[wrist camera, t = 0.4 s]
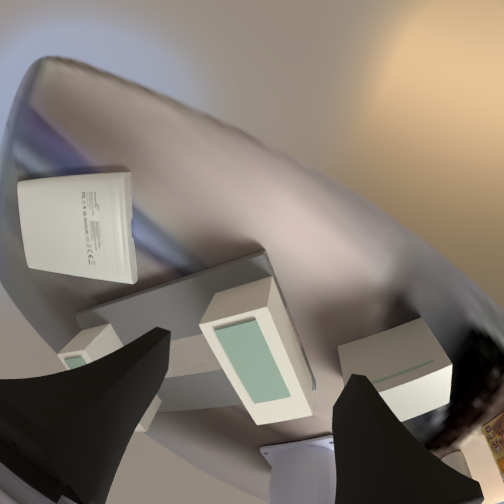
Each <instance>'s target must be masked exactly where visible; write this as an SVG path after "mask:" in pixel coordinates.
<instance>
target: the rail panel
mask: <svg viewBox="0 0 504 504" xmlns="http://www.w3.org/2000/svg"><path fill="white" fill-rule="evenodd" d="M74 318H75V320H76V322H77V323H78V325H79V327H80V328H81V330H82V331H81V332H79V333H78V334H77V335H76V336H75V337H74V338H73V339H72V340H71V341H70V342H69V343H68V344H67V345H66V346H65V347H64V348H63V349H62V350H61V351H60V352H59V353H58V354H57V355H58V357H59V358H60V360H61V361H62V363H63V364H64V366H65V367H66V369H67V370H71V369H74V368H77V367H80V366H83V365H85V364H88V363H91V362H93V361H95V360H98V359H100V358H102V357H104V356H106V355H108V354H110V353H112V352H114V351H116V350H118V349H119V348H121V347H123V346H125V345H127V344H128V343H130V342H132V341H133V340H135V339H137V338H138V337H140V336H142V335H143V334H145V333H147V332H148V331H150V330H152V329H153V328H155V327H160V328H163V329H166V330H169V331H171V340H170V354H169V369H168V371H167V373H166V376H165V378H164V380H163V383H162V385H161V387H160V389H159V391H158V393H157V394H156V396H155V397H154V399H153V401H152V402H151V404H150V406H149V407H148V409H147V411H146V412H145V414H144V415H143V417H142V419H141V420H140V422H139V424H138V425H137V427H136V429H135V430H134V431H145V432H147V430H148V428H149V426H150V424H151V422H152V420H153V418H154V416H155V414H156V412H171V411H185V410H197V409H207V408H216V407H224V406H232V405H239V404H244V405H245V407H246V409H247V410H248V412H249V414H250V415H251V417H252V418H253V420H254V421H255V423H256V425H262V424H268V423H275V422H281V421H286V420H292V419H297V418H302V417H307V416H312V415H313V406H312V390H316V381H315V379H314V376H313V373H312V371H311V368H310V365H309V363H308V360H307V357H306V355H305V352H304V349H303V347H302V344H301V341H300V339H299V336H298V333H297V331H296V328H295V326H294V323H293V320H292V318H291V315H290V312H289V310H288V307H287V305H286V302H285V299H284V297H283V294H282V292H281V289H280V286H279V284H278V281H277V279H276V276H275V273H274V271H273V268H272V266H271V263H270V261H269V258H268V255H267V253H266V250H262V251H259V252H256V253H253V254H250V255H247V256H244V257H241V258H238V259H235V260H232V261H229V262H226V263H223V264H220V265H217V266H214V267H211V268H208V269H205V270H202V271H199V272H196V273H193V274H190V275H187V276H184V277H181V278H178V279H175V280H172V281H169V282H166V283H163V284H160V285H157V286H154V287H151V288H148V289H145V290H142V291H139V292H136V293H133V294H130V295H127V296H124V297H121V298H118V299H115V300H112V301H109V302H106V303H103V304H99V305H96V306H93V307H90V308H87V309H84V310H81V311H79V312H78V313H77V314H76V315H74Z"/></svg>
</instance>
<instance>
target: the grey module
mask: <svg viewBox="0 0 504 504" xmlns="http://www.w3.org/2000/svg"><path fill="white" fill-rule="evenodd" d="M337 348H338V353H339V359H340V364H341V370H342V376H343V381H344V387H345V385H346V384H347V382H348V380H349V378H350V376H351V375H352V374H358V375H365V376H366V377H367V378H368V379H369V380H370V382H371V383H372V384H373V386H374V387H375V389H376V390H377V391H378V393H379V394H380V395H381V397H382V398H383V400H384V401H385V402H386V404H387V405H388V406H389V408H390V409H391V410H392V412H393V413H394V414H395V415H396V417H397V418H398V419H399V420H400V422H402V421H405V420H407V419H410V418H413V417H416V416H418V415H421V414H423V413H426V412H428V411H431V410H433V409H436V408H438V407H440V406H443V405H445V404H447V403H449V399H450V389H451V376H452V363H451V361H450V360H449V358H448V357H447V355H446V353H445V352H444V350H443V349H442V347H441V345H440V344H439V342H438V341H437V339H436V338H435V336H434V335H433V333H432V332H431V330H430V329H429V327H428V326H427V324H426V323H425V321H424V320H423V318H422V317H421V318H418V319H415V320H413V321H410V322H408V323H405V324H402V325H400V326H397V327H394V328H391V329H389V330H386V331H383V332H380V333H377V334H374V335H371V336H368V337H365V338H362V339H359V340H356V341H353V342H349V343H346V344H343V345H340V346H337Z"/></svg>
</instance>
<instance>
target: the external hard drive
mask: <svg viewBox="0 0 504 504" xmlns="http://www.w3.org/2000/svg"><path fill="white" fill-rule="evenodd" d="M17 193H18V205H19V215H20V224H21V231H22V238H23V244H24V250H25V256H26V261H27V265H28V267H29V268H33V269H39V270H45V271H50V272H56V273H62V274H68V275H74V276H80V277H87V278H93V279H100V280H107V281H114V282H121V283H128V284H134V283H136V282H137V281H138V276H137V267H136V257H135V246H134V238H133V237H132V230H131V220H132V196H131V172H113V173H96V174H81V175H69V176H59V177H49V178H40V179H32V180H25V181H20V182H18V186H17Z"/></svg>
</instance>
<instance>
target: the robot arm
mask: <svg viewBox="0 0 504 504" xmlns="http://www.w3.org/2000/svg"><path fill="white" fill-rule="evenodd" d="M170 340H171V331H169V330H166V329H163V328H160V327H155V328H153V329H152V330H150V331H148V332H147V333H145V334H143V335H142V336H140V337H138V338H137V339H135V340H133V341H132V342H130V343H128V344H127V345H125V346H123V347H121V348H119V349H118V350H116V351H114V352H112V353H110V354H108V355H106V356H104V357H102V358H100V359H98V360H95V361H93V362H91V363H88V364H85V365H83V366H80V367H77V368H74V369H71V370H67V371H64V372H59V373H56V374H51V375H47V376H41V377H35V378H25V379H0V504H105V502H106V499H107V496H108V493H109V490H110V487H111V484H112V482H113V479H114V476H115V474H116V471H117V468H118V466H119V464H120V461H121V459H122V456H123V454H124V452H125V449H126V447H127V445H128V443H129V440H130V438H131V436H132V434H133V432H134V430H135V429H136V427H137V425H138V424H139V422H140V420H141V419H142V417H143V415H144V414H145V412H146V411H147V409H148V407H149V406H150V404H151V402H152V401H153V399H154V397H155V396H156V394H157V393H158V391H159V389H160V387H161V385H162V383H163V380H164V378H165V376H166V373H167V371H168V369H169V354H170ZM332 432H333V435H328V436H324V437H319V438H314V439H309V440H303V441H298V442H292V443H285V444H278V445H271V446H263V447H261V448H260V452H261V454H262V455H263V456H264V458H265V459H266V460H267V462H268V463H269V464H270V466H271V467H272V469H271V478H270V486H269V494H268V502H267V504H481V503H482V502H483V500H484V496H483V493H482V490H481V487H480V484H479V482H478V481H475V480H473V479H471V478H469V477H467V476H465V475H463V474H461V473H460V472H458V471H456V470H455V469H453V468H451V467H450V466H448V465H447V464H445V463H444V462H443V461H441V460H440V459H439V458H437V457H436V456H435V455H434V454H432V453H431V452H430V451H429V450H428V449H426V448H425V447H424V446H423V445H422V444H421V443H420V442H419V441H418V440H417V439H416V438H415V437H414V436H413V435H412V434H411V433H410V432H409V431H408V430H407V429H406V427H405V426H404V425H403V424H402V423H401V422H400V420H399V419H398V418H397V417H396V415H395V414H394V413H393V412H392V410H391V409H390V408H389V406H388V405H387V404H386V402H385V401H384V400H383V398H382V397H381V395H380V394H379V393H378V391H377V390H376V389H375V387H374V386H373V384H372V383H371V382H370V380H369V379H368V378H367V377H366V376H365V375H358V374H352V375H351V376H350V378H349V380H348V382H347V384H346V385H345V387H344V389H343V391H342V393H341V394H340V396H339V398H338V399H337V401H336V403H335V405H334V406H333V418H332Z"/></svg>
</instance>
